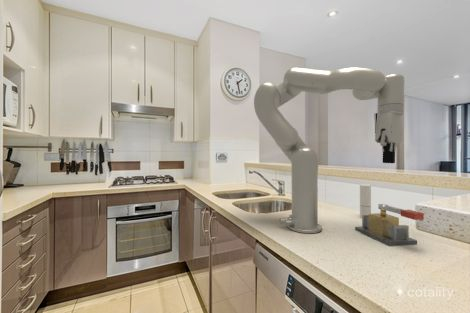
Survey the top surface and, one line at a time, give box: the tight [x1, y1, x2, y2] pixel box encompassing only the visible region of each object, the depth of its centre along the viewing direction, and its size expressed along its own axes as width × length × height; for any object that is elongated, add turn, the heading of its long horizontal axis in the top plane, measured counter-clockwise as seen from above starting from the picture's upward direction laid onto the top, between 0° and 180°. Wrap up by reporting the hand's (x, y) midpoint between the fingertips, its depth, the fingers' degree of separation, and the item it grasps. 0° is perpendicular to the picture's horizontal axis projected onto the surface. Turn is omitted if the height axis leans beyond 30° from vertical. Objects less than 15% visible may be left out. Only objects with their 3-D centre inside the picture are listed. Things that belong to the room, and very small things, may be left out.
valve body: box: [354, 209, 418, 247], centre depth 74 cm, size 10×15×9 cm, turn 8°
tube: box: [359, 183, 372, 219], centre depth 98 cm, size 4×4×15 cm
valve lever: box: [378, 203, 425, 221], centre depth 69 cm, size 14×3×2 cm, turn 8°
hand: (388, 163), depth 76 cm, fingers closed
